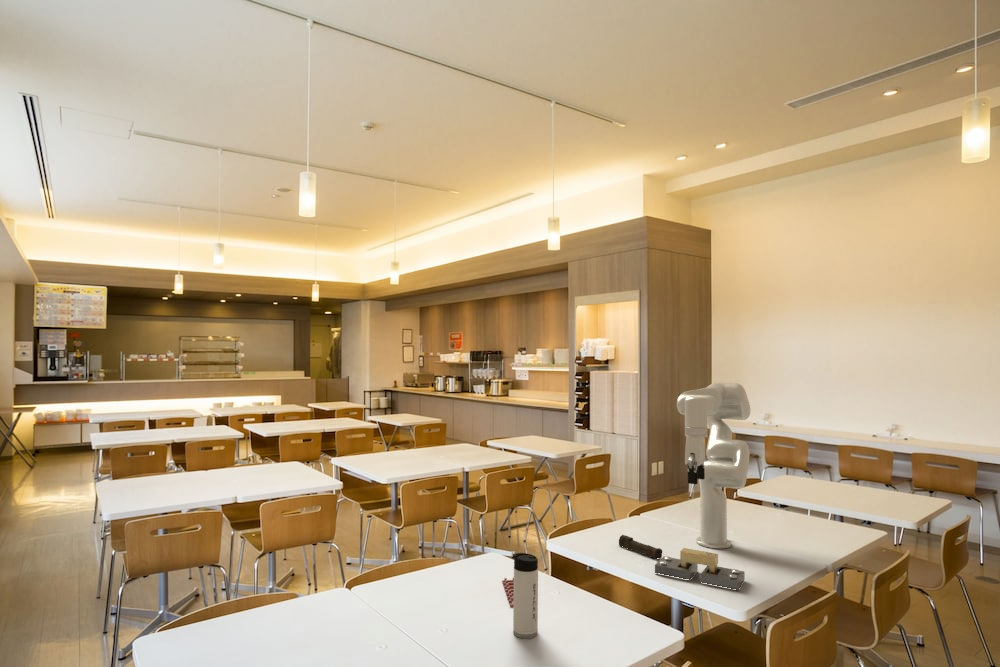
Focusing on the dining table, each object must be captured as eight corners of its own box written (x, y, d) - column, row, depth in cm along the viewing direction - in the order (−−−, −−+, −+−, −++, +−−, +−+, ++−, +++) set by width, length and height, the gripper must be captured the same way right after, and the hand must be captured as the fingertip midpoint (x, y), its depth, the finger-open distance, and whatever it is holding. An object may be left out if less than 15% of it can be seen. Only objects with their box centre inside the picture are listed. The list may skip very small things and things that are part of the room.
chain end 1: (663, 565, 203) (663, 554, 203) (697, 571, 197) (697, 560, 197) (654, 574, 195) (654, 563, 195) (689, 581, 189) (689, 569, 189)
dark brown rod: (663, 559, 210) (663, 546, 210) (655, 561, 208) (655, 547, 208) (624, 545, 226) (624, 532, 226) (616, 546, 224) (616, 534, 224)
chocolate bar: (510, 610, 167) (510, 602, 167) (502, 584, 186) (502, 577, 186) (535, 609, 168) (535, 602, 168) (524, 583, 187) (524, 577, 187)
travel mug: (510, 628, 155) (511, 550, 156) (535, 627, 155) (536, 550, 156) (513, 639, 149) (513, 559, 149) (539, 638, 149) (539, 558, 150)
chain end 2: (738, 591, 181) (738, 579, 181) (700, 583, 187) (700, 571, 187) (744, 581, 189) (744, 569, 189) (708, 573, 195) (708, 562, 195)
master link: (683, 572, 197) (683, 547, 197) (718, 579, 191) (718, 554, 191) (680, 575, 193) (680, 551, 194) (715, 583, 187) (715, 557, 188)
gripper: (691, 428, 216) (691, 476, 216) (678, 433, 202) (678, 484, 201) (712, 430, 212) (713, 478, 212) (701, 435, 198) (701, 487, 197)
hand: (696, 481), depth 206 cm, fingers open, 9 cm apart
